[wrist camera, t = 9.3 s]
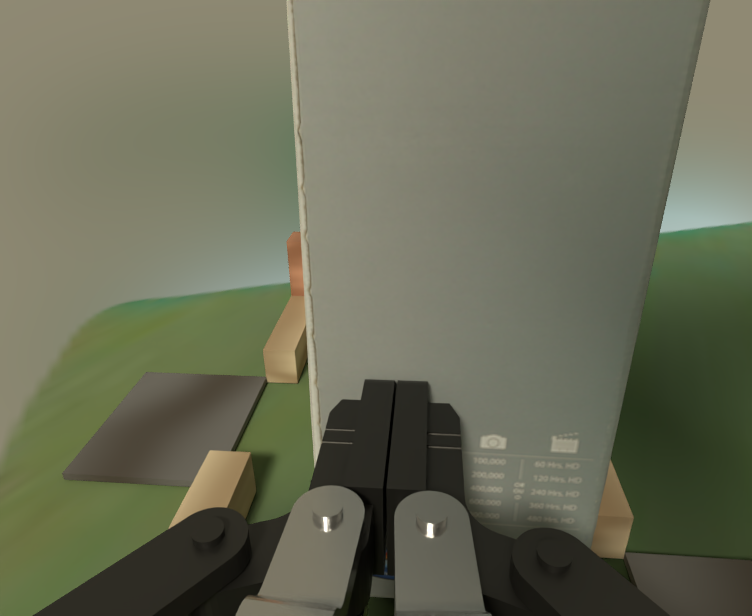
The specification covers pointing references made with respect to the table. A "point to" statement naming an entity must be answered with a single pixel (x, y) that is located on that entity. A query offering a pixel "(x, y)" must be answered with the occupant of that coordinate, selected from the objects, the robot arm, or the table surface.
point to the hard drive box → (489, 222)
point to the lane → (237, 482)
